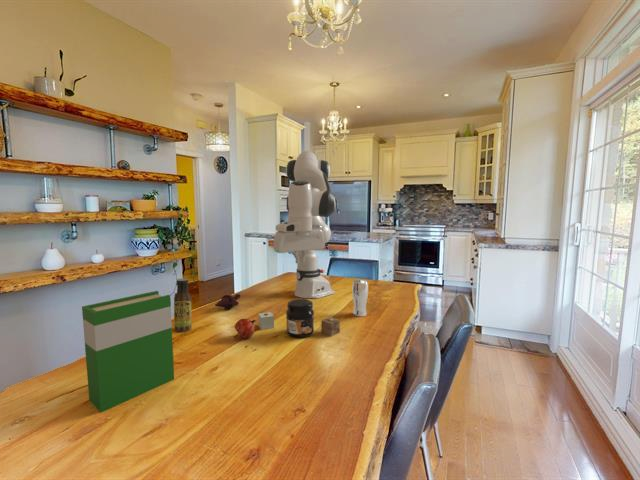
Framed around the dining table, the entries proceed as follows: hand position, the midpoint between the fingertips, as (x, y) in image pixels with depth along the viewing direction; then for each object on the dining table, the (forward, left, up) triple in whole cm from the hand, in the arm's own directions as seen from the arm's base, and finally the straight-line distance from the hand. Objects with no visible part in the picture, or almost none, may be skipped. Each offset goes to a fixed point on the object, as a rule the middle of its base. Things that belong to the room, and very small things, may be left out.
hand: (300, 263), depth 116 cm
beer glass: (-33, -3, -27) cm, 43 cm away
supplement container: (0, 0, -27) cm, 27 cm away
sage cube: (+8, -13, -27) cm, 31 cm away
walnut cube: (-10, +6, -27) cm, 30 cm away
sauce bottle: (+36, -28, -27) cm, 53 cm away
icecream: (+14, -42, -27) cm, 52 cm away
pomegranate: (+19, -8, -27) cm, 34 cm away
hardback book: (+55, +7, -27) cm, 62 cm away
